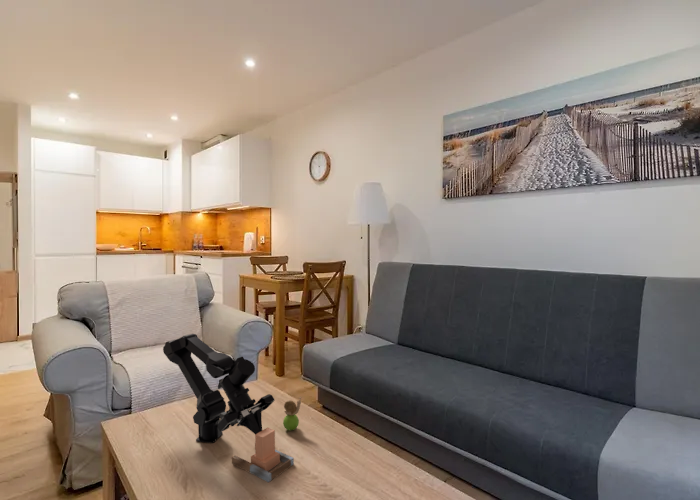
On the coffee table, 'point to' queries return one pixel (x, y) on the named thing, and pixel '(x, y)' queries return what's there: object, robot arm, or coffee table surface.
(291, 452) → the coffee table surface
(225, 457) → the coffee table surface
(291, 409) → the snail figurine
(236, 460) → the beam slot
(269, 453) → the block
